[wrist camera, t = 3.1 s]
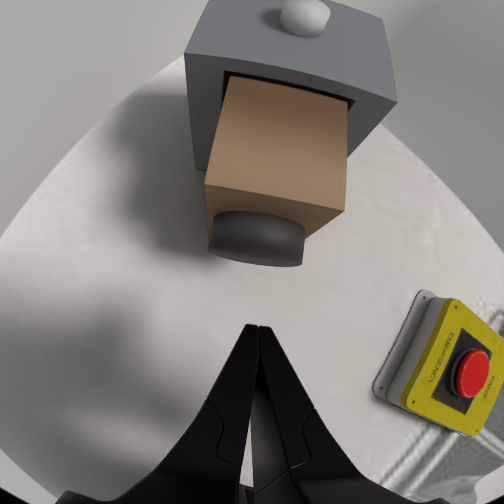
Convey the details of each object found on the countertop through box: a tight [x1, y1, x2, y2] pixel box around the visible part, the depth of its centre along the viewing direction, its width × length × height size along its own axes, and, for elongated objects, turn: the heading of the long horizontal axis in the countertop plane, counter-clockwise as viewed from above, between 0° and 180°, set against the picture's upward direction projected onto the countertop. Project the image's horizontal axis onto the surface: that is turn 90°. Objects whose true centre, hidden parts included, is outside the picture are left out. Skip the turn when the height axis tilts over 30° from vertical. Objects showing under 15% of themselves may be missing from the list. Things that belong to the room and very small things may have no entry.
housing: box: [184, 0, 398, 170], centre depth 16 cm, size 6×9×13 cm
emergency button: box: [373, 290, 504, 437], centre depth 19 cm, size 9×4×15 cm
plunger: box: [204, 76, 347, 267], centre depth 16 cm, size 6×5×10 cm
